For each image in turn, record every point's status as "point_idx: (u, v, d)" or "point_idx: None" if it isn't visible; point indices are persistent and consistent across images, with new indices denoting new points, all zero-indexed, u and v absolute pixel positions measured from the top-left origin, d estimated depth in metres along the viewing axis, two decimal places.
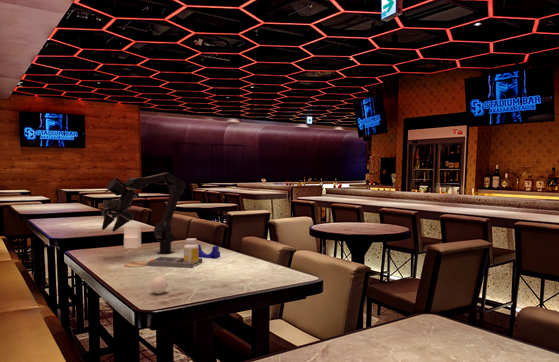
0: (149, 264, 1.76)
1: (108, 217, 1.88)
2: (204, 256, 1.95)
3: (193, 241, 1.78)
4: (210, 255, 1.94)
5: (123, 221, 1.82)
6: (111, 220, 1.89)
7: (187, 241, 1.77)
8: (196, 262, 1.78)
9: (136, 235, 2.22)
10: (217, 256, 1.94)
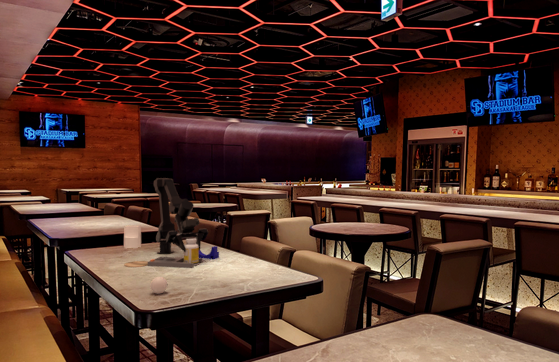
0: (149, 264, 1.76)
1: None
2: (203, 256, 1.94)
3: (193, 241, 1.78)
4: (209, 255, 1.93)
5: None
6: None
7: (187, 241, 1.77)
8: (196, 262, 1.78)
9: (136, 235, 2.22)
10: (216, 256, 1.93)
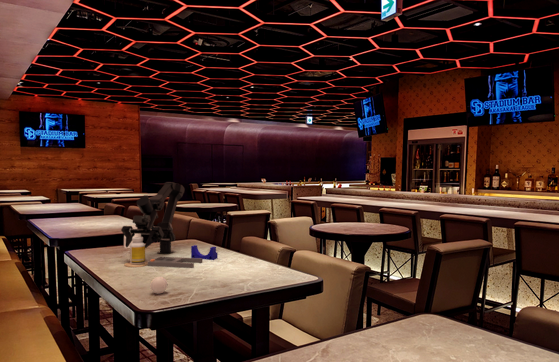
0: (149, 264, 1.76)
1: (130, 235, 1.83)
2: (201, 257, 1.92)
3: (135, 240, 1.77)
4: (207, 256, 1.91)
5: (153, 238, 1.82)
6: (131, 238, 1.84)
7: (132, 239, 1.79)
8: (136, 261, 1.77)
9: (136, 235, 2.22)
10: (214, 257, 1.92)
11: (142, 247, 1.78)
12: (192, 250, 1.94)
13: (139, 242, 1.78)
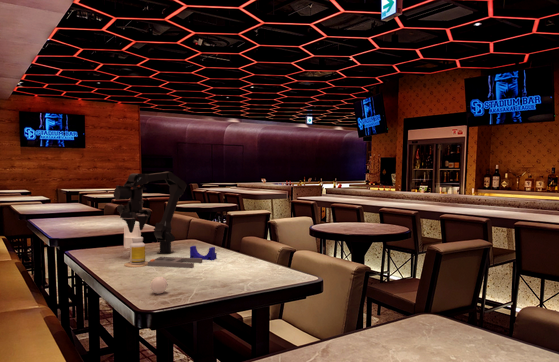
0: (149, 264, 1.76)
1: (140, 217, 1.99)
2: None
3: (135, 240, 1.78)
4: (206, 256, 1.90)
5: (131, 220, 1.87)
6: (144, 218, 1.98)
7: None
8: (136, 261, 1.77)
9: (136, 235, 2.22)
10: (213, 257, 1.91)
11: (142, 247, 1.78)
12: (191, 250, 1.93)
13: (139, 242, 1.78)
